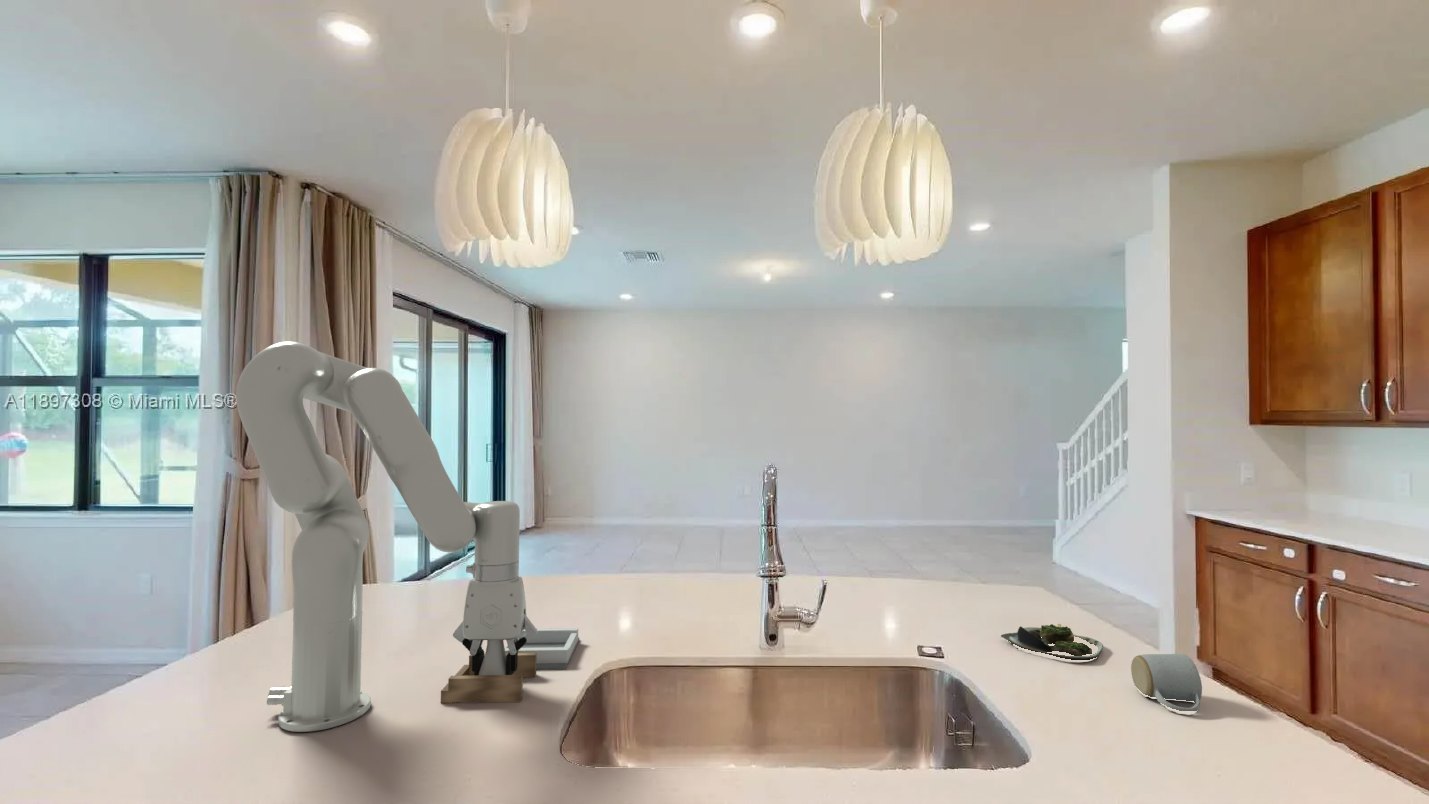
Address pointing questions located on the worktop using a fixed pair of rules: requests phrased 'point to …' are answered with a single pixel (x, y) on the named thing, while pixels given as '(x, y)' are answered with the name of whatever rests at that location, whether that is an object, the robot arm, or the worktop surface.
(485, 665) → the flask
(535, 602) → the worktop surface
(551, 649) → the dock
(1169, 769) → the worktop surface
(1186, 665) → the ceramic mug
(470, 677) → the wooden u-shaped bracket
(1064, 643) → the salad plate
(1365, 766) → the worktop surface
